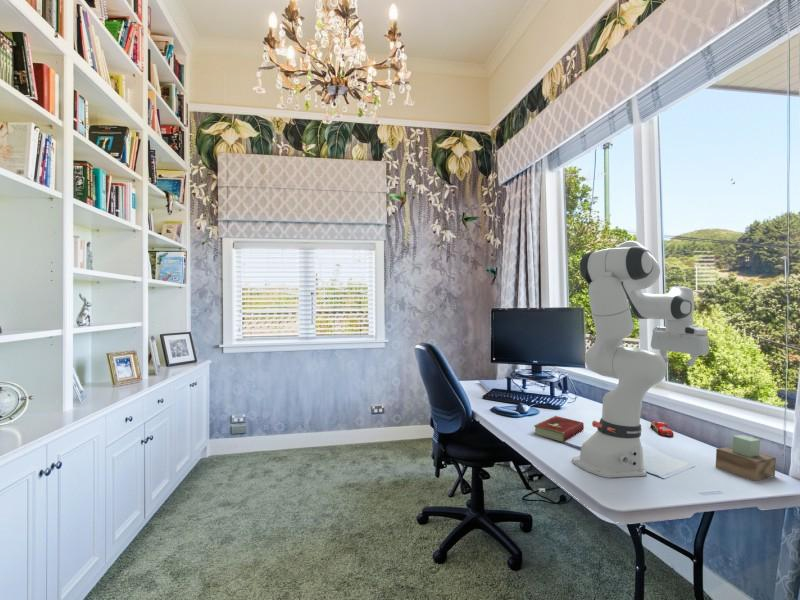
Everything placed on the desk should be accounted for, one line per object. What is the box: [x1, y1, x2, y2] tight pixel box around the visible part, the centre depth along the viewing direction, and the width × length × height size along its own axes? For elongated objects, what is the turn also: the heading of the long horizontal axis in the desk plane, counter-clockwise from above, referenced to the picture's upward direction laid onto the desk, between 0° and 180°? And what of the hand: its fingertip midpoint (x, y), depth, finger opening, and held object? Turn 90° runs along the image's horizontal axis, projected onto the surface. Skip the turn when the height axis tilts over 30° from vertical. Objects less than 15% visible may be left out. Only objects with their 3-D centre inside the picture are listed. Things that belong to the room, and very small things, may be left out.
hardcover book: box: [533, 415, 585, 443], centre depth 164 cm, size 12×21×4 cm, turn 136°
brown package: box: [715, 445, 777, 482], centre depth 132 cm, size 11×11×6 cm
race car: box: [650, 421, 674, 437], centre depth 171 cm, size 13×5×4 cm, turn 165°
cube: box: [732, 434, 761, 457], centre depth 132 cm, size 5×5×5 cm
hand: (677, 363), depth 156 cm, fingers open, 8 cm apart
